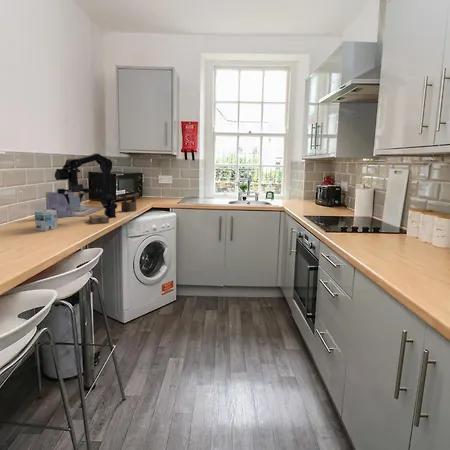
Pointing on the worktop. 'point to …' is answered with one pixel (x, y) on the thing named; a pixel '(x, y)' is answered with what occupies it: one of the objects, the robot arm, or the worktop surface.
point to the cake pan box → (59, 204)
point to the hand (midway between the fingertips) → (74, 204)
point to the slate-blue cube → (74, 201)
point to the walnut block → (99, 219)
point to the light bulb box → (46, 220)
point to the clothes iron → (129, 203)
